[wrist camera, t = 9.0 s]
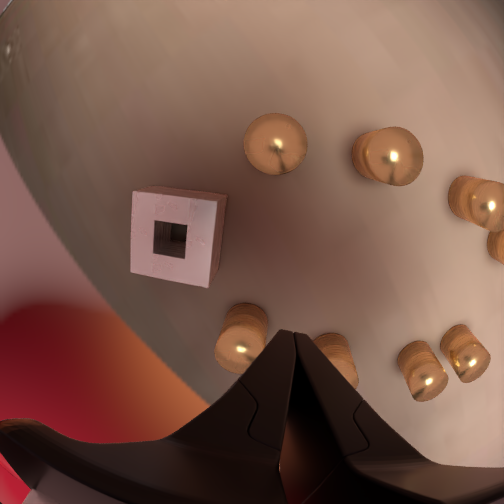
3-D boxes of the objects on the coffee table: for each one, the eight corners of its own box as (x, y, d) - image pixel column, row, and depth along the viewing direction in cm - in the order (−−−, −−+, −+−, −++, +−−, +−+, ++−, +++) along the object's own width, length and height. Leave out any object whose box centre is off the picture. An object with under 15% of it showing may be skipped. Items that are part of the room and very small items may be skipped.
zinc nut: (218, 269, 20) (208, 287, 17) (149, 256, 20) (130, 272, 17) (227, 194, 18) (217, 201, 16) (153, 185, 19) (132, 191, 16)
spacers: (449, 377, 21) (465, 405, 18) (214, 342, 22) (202, 376, 18) (522, 198, 16) (554, 208, 12) (260, 103, 17) (254, 88, 13)
